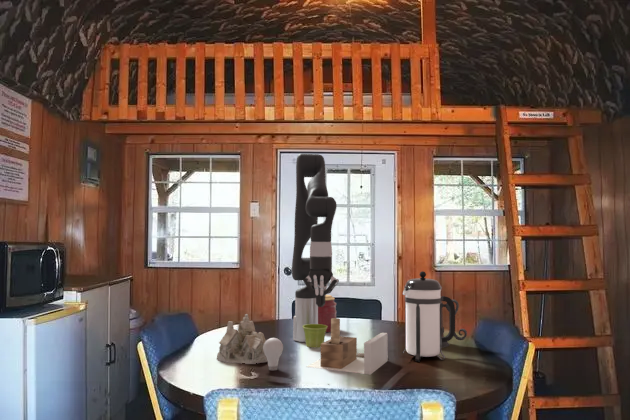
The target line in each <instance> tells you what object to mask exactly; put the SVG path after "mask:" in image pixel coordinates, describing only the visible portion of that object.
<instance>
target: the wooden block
mask: <svg viewBox="0 0 630 420" xmlns="http://www.w3.org/2000/svg"><path fill="white" fill-rule="evenodd" d="M357 358H364V352H362V353H361V352H357Z"/></svg>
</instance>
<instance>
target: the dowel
mask: <svg viewBox="0 0 630 420" xmlns="http://www.w3.org/2000/svg"><path fill="white" fill-rule="evenodd" d="M340 335H341V318H337V317H336V318H332V319H331V332H330V339H331V344H337V345H339V344H340Z"/></svg>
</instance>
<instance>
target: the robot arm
mask: <svg viewBox="0 0 630 420" xmlns="http://www.w3.org/2000/svg"><path fill="white" fill-rule="evenodd" d="M295 177H296V180H295V181H296V182H295V183H296V185H295V186H296V187H295V189H296V190H295V191H296V194H295V197H296V198H295V208H294V209H295V210H294V242H293V252H292V263H291V276H292V279H293V280H294V281H303V283H304V284H305V286H303V287H300V288H298V289H296V290H295V292H294V293H295V298H294V299H295V301H294V302H295V303H294V304H295V307H294V308H295V311H294V312H295V313H294V316H292V318H293V319H292V320H293V321H292V322H293V323H292V331H293V332H292V341H296V342H300V343H306V340H305V332H304V328H303V327H302V326H303V325H307V324H318V307H323V306H324V305H325V295H330V294H331V293H332V291H334V289H335V288H336V286H337V285H338V284H339V281H340V279H339V278H336V277H335V276H334V274H333V271H332V270H333V269H332V268H333V248H332V227H333V222H334V218H335V216H336V212H337V202H336V199H335V198H333V197H332V196H329V191H328V189H327V184H326V177H327V176H326V161H325V157H324V156H323V154H319V153H317V154H316V153H299V154H298V155H297V157H296V161H295ZM305 178H311V179H309V181H308V183H307V186H306V182H305ZM319 218H324V219H325V220H324V221H323V222H321V223H318V222H319ZM309 241H310V245H309V257H302V256H303V252H304V249H305V247H306V245H307V243H308V242H309ZM329 283H330V284H329ZM328 284H329V286H328Z"/></svg>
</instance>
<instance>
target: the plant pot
mask: <svg viewBox="0 0 630 420" xmlns="http://www.w3.org/2000/svg"><path fill="white" fill-rule="evenodd" d="M302 327H303V328H304V332H305V340H306V342H305V346H306V347H308V348H312V349H313V348H321V344H322V343H324V342H325V337H326V333H327V332H326V328H327V327H328V326H326V325H322V324H307V325H303V326H302Z"/></svg>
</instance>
